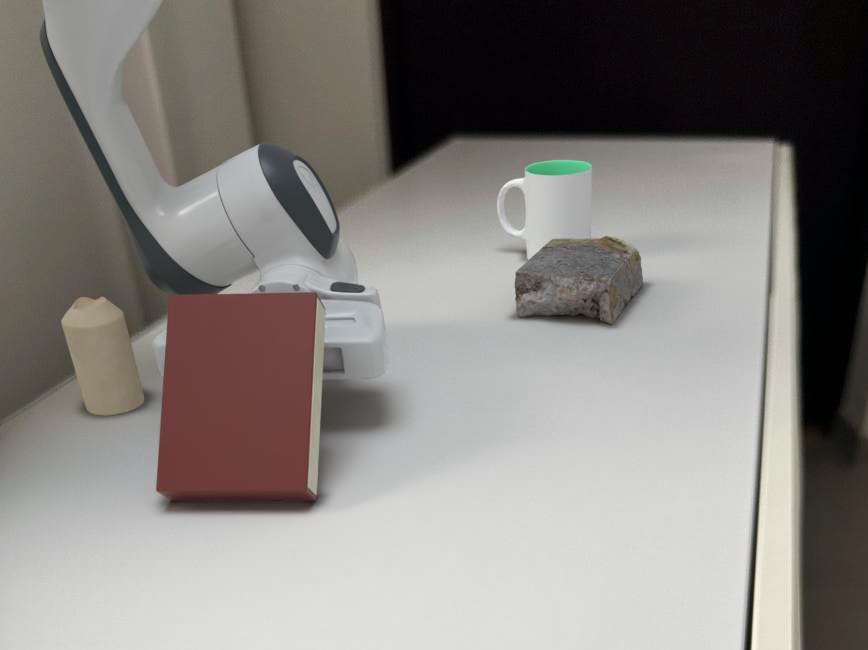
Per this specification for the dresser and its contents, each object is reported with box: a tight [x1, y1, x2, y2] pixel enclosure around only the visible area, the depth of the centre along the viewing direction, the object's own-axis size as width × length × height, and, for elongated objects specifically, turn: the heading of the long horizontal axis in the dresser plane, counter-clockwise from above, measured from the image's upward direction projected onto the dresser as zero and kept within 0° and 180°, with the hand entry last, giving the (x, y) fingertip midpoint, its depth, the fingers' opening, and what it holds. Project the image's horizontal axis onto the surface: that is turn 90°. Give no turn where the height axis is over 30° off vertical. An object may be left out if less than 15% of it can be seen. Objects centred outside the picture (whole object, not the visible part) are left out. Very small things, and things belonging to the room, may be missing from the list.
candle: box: [60, 296, 145, 416], centre depth 98 cm, size 6×6×10 cm
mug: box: [496, 159, 593, 261], centre depth 130 cm, size 12×8×10 cm, turn 71°
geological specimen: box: [514, 235, 644, 325], centre depth 116 cm, size 11×6×15 cm
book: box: [155, 292, 326, 502], centre depth 83 cm, size 12×3×16 cm
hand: (251, 384), depth 86 cm, fingers closed, pressing on book
